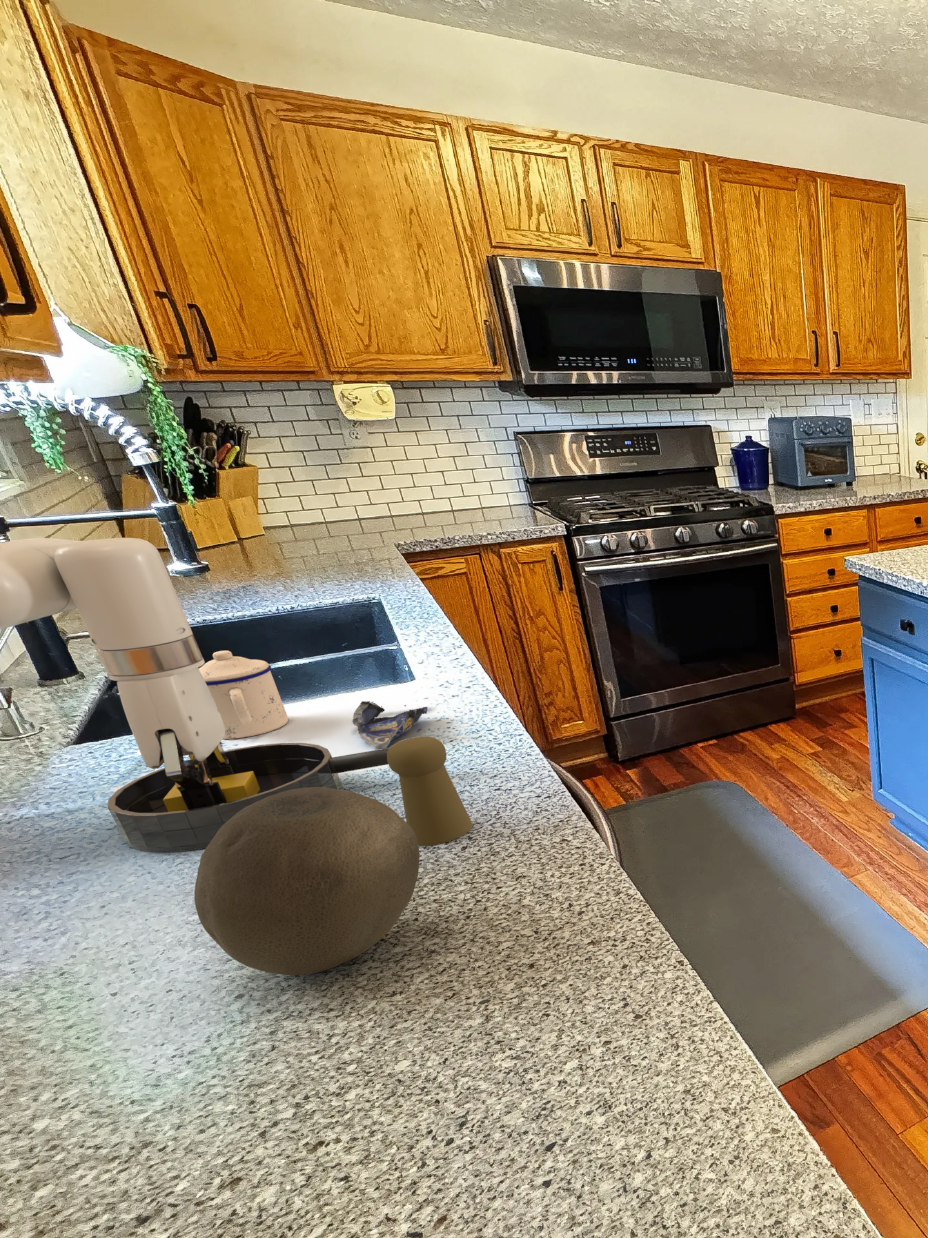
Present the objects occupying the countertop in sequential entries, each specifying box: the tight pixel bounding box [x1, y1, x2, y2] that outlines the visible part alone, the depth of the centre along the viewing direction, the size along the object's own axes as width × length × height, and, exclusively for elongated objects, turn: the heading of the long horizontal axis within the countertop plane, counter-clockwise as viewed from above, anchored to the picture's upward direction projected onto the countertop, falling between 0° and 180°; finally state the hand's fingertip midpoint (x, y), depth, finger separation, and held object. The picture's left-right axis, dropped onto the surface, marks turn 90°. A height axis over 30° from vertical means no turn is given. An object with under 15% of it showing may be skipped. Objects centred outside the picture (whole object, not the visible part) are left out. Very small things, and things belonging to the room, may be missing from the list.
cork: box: [387, 735, 474, 847], centre depth 87 cm, size 6×6×11 cm
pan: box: [107, 742, 343, 853], centre depth 93 cm, size 19×19×4 cm
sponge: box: [163, 771, 262, 812], centre depth 93 cm, size 7×4×3 cm, turn 120°
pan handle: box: [329, 747, 390, 774], centre depth 99 cm, size 12×2×2 cm, turn 119°
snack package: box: [351, 700, 428, 749], centre depth 115 cm, size 12×6×12 cm
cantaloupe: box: [193, 787, 420, 976], centre depth 67 cm, size 14×14×15 cm
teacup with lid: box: [198, 650, 289, 740], centre depth 115 cm, size 12×9×12 cm
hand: (218, 806), depth 93 cm, fingers closed on sponge, 4 cm apart
